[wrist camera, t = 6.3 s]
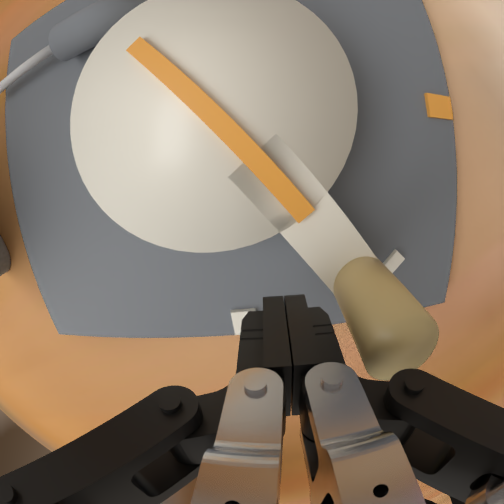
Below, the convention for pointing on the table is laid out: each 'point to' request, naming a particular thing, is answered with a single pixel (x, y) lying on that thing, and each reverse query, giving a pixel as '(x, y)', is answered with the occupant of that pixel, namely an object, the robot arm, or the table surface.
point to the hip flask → (4, 257)
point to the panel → (262, 253)
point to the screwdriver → (76, 34)
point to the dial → (239, 150)
